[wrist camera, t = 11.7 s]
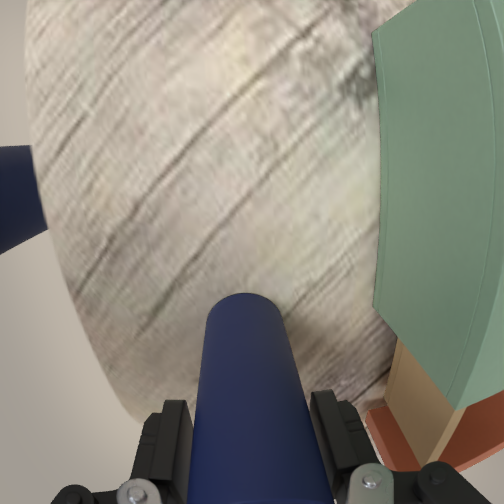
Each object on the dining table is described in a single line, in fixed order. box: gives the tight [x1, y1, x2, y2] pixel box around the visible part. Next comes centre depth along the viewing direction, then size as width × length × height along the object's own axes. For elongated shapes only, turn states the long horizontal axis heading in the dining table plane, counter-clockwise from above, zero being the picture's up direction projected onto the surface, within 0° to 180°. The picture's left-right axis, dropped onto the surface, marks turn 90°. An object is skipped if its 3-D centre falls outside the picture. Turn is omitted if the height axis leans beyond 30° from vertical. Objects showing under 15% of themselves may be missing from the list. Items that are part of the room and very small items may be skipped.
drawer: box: [365, 338, 504, 473], centre depth 14 cm, size 18×12×7 cm
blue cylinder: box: [187, 293, 335, 504], centre depth 11 cm, size 4×4×11 cm
